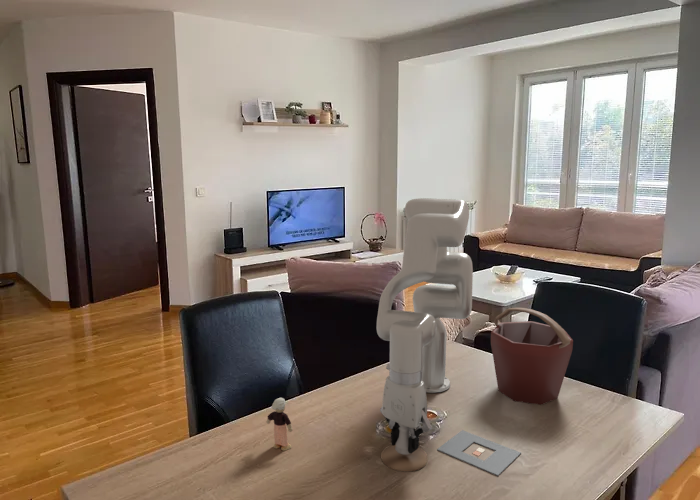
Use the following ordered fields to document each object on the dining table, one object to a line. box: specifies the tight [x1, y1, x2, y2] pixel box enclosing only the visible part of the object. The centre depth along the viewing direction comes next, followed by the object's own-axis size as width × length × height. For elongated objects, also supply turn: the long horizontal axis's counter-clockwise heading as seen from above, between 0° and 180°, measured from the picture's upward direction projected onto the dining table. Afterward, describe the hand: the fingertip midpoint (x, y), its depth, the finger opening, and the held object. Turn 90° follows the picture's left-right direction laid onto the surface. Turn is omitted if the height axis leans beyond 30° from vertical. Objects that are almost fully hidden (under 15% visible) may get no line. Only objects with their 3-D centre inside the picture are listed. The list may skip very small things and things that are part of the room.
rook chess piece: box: [395, 423, 411, 455], centre depth 127 cm, size 4×4×8 cm
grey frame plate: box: [436, 429, 522, 477], centre depth 130 cm, size 16×12×1 cm
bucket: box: [490, 307, 574, 406], centre depth 160 cm, size 24×22×25 cm
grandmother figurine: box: [265, 397, 294, 452], centre depth 132 cm, size 8×4×13 cm, turn 71°
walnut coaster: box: [380, 445, 429, 473], centre depth 127 cm, size 11×11×1 cm
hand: (404, 446), depth 127 cm, fingers closed on rook chess piece, 4 cm apart
